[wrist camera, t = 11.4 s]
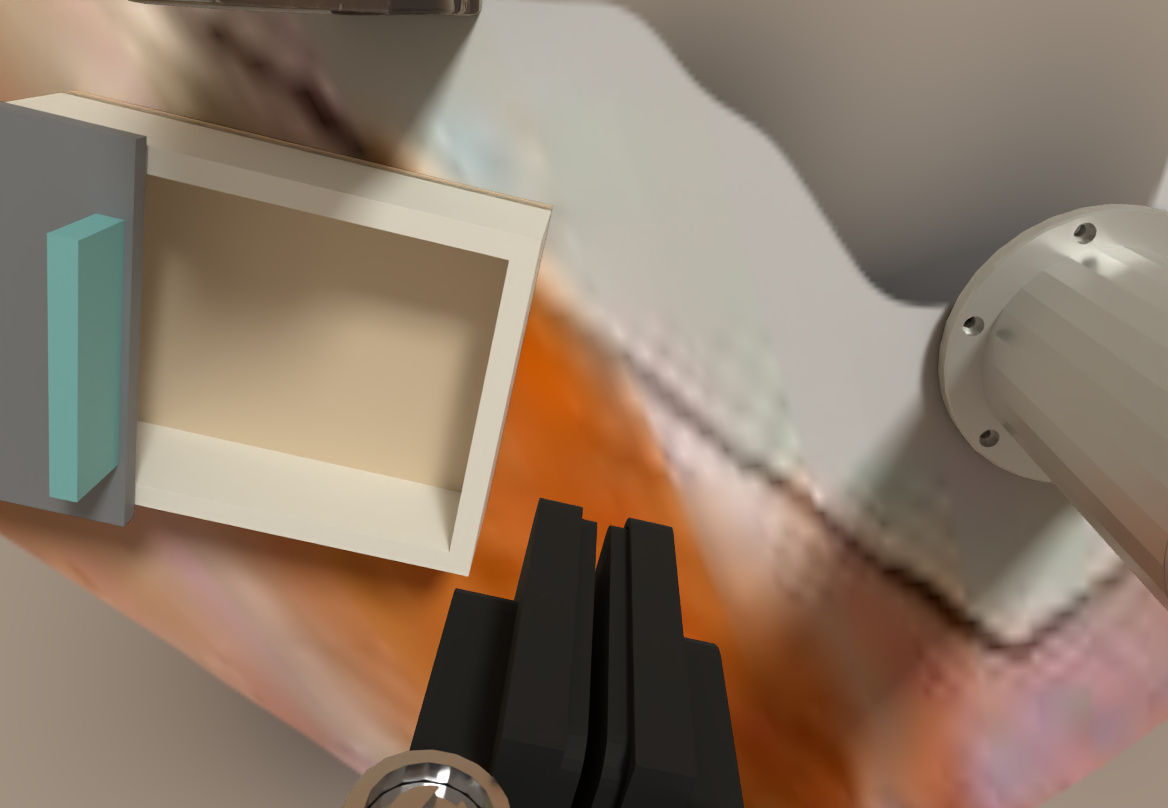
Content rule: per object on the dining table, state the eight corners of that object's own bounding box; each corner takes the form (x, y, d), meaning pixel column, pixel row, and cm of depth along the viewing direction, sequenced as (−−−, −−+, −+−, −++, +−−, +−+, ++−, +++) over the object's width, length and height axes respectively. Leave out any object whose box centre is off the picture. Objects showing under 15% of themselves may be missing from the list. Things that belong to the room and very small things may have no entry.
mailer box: (552, 206, 38) (541, 240, 33) (487, 505, 44) (468, 576, 39) (75, 90, 37) (-19, 106, 32) (74, 414, 43) (-5, 474, 38)
